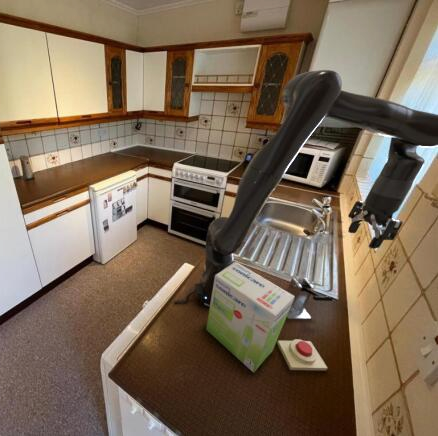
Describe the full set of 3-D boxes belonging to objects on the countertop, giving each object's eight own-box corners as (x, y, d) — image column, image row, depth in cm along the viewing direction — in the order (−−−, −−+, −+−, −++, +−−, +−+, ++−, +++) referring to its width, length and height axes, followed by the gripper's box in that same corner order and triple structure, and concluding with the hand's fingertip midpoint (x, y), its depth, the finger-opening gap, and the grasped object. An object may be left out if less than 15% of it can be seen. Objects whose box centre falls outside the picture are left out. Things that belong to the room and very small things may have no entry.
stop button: (300, 356, 67) (302, 352, 66) (293, 344, 70) (295, 340, 69) (313, 356, 67) (315, 353, 66) (305, 344, 70) (307, 341, 69)
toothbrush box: (203, 329, 78) (214, 273, 66) (223, 314, 84) (236, 259, 72) (252, 375, 66) (276, 316, 54) (271, 353, 71) (297, 295, 60)
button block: (289, 371, 67) (293, 363, 65) (275, 344, 74) (279, 336, 72) (324, 372, 67) (330, 364, 65) (308, 345, 74) (312, 337, 72)
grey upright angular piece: (310, 320, 82) (324, 294, 75) (287, 320, 82) (299, 293, 75) (294, 298, 90) (306, 272, 84) (273, 297, 90) (283, 272, 84)
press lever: (332, 303, 70) (332, 295, 70) (315, 302, 70) (315, 294, 70) (305, 288, 82) (306, 281, 82) (291, 288, 82) (291, 281, 82)
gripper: (355, 182, 73) (334, 227, 81) (397, 202, 61) (367, 253, 69) (380, 183, 73) (356, 228, 81) (427, 203, 61) (393, 254, 69)
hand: (361, 239), depth 75 cm, fingers open, 8 cm apart
